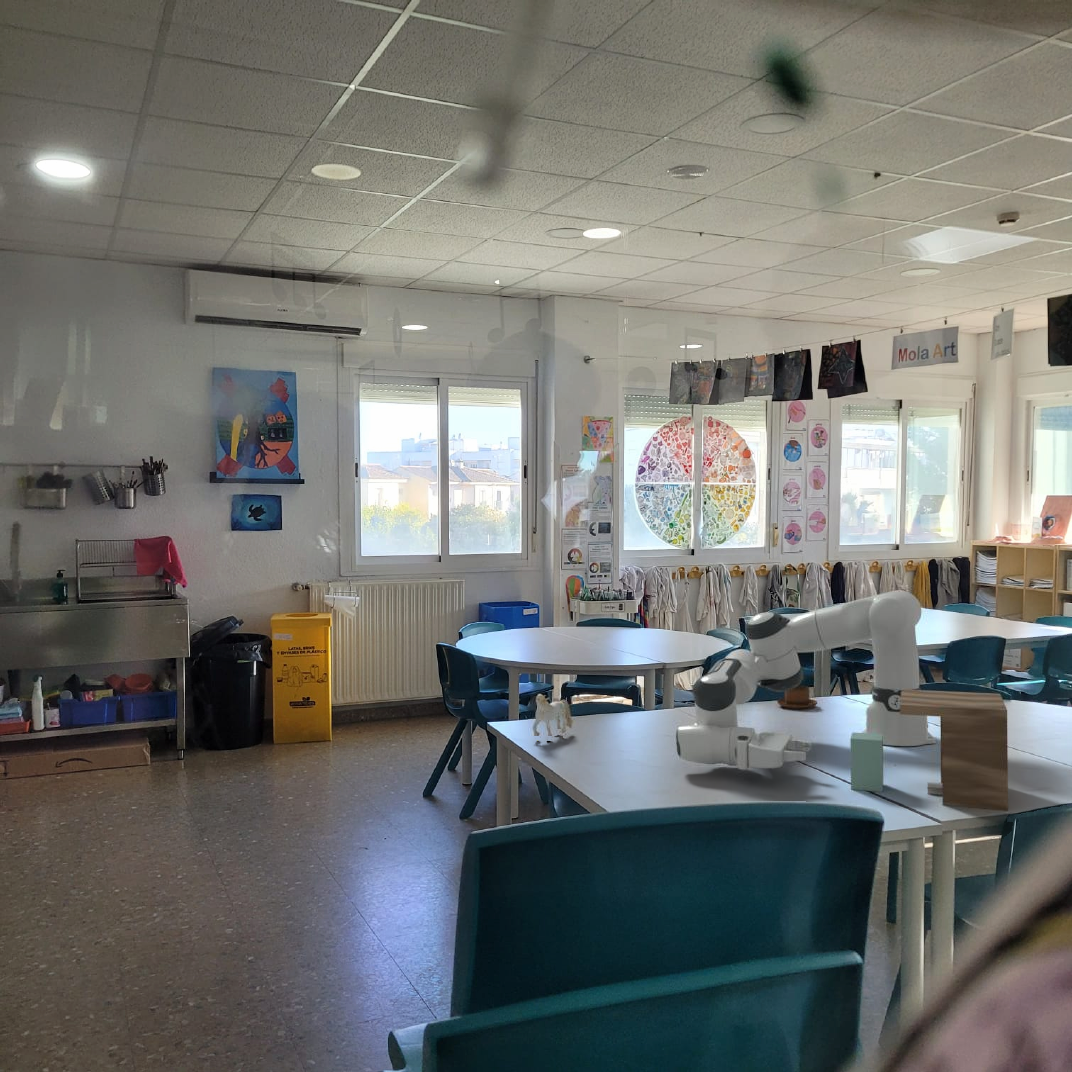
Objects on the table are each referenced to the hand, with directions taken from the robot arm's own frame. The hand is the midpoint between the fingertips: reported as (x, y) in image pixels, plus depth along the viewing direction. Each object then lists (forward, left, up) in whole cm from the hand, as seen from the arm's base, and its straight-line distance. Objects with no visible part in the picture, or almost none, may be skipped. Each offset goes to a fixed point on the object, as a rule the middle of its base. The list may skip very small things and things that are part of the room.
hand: (808, 751), depth 219 cm
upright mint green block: (0, +12, -7) cm, 14 cm away
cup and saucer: (-88, -12, -7) cm, 89 cm away
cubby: (0, +30, -7) cm, 31 cm away
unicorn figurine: (-21, -67, -7) cm, 71 cm away
